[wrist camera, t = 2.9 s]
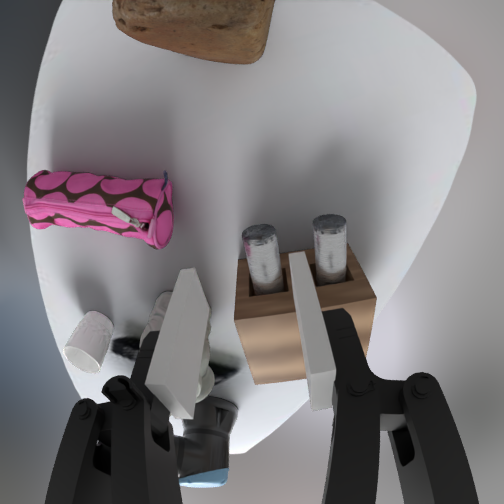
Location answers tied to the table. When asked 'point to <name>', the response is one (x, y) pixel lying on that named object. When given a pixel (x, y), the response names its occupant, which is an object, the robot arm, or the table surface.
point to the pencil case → (102, 204)
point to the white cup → (89, 342)
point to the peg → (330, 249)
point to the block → (199, 26)
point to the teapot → (205, 373)
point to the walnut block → (294, 317)
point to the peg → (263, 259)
